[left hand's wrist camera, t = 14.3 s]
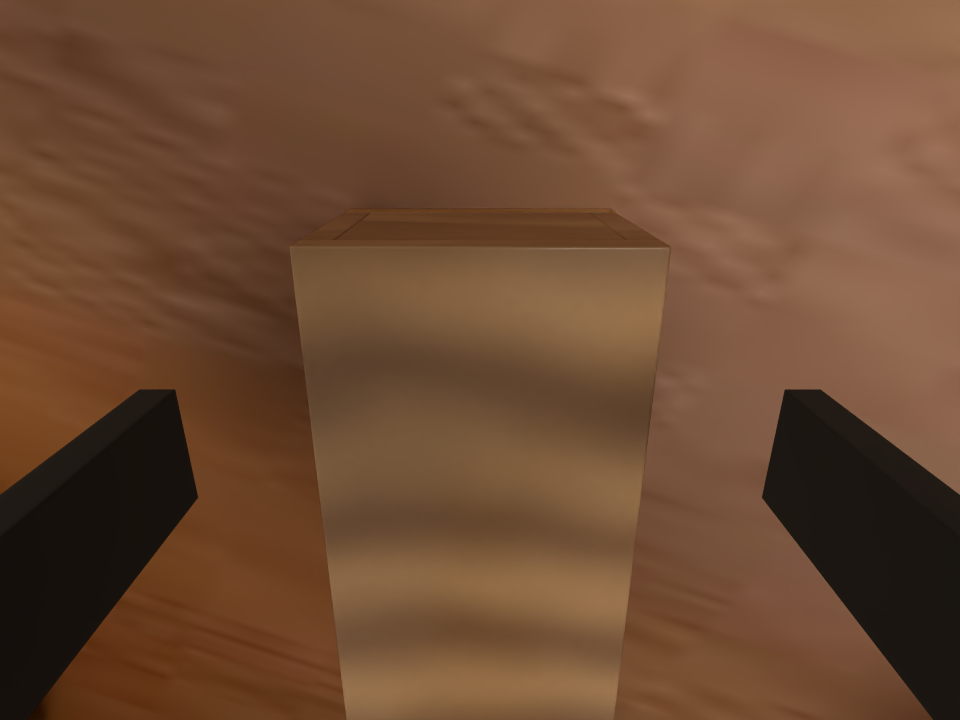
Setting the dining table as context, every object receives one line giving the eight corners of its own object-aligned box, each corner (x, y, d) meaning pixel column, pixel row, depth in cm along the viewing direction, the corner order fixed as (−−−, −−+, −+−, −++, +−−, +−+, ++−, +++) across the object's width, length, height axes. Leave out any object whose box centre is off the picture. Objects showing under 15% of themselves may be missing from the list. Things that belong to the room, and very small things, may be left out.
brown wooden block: (580, 581, 32) (613, 730, 24) (380, 581, 32) (346, 730, 24) (610, 208, 24) (672, 245, 17) (350, 208, 25) (287, 245, 17)
